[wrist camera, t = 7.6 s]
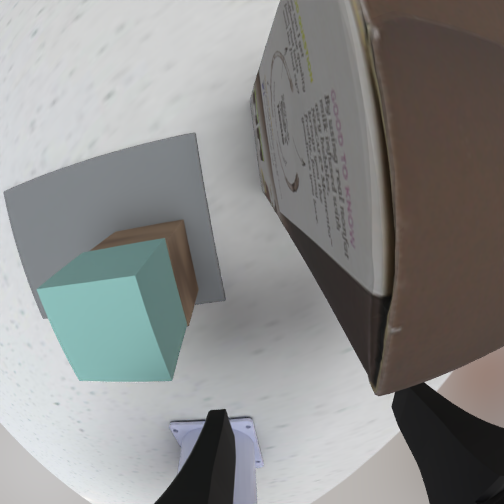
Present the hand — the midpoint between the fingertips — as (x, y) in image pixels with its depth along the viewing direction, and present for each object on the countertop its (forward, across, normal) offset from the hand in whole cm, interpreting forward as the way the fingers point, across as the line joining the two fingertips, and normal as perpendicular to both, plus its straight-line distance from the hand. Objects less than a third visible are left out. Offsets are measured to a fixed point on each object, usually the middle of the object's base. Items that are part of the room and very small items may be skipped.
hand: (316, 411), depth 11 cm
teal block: (+6, +8, -4) cm, 11 cm away
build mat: (+10, +12, -6) cm, 17 cm away
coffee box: (+11, -4, -10) cm, 15 cm away
